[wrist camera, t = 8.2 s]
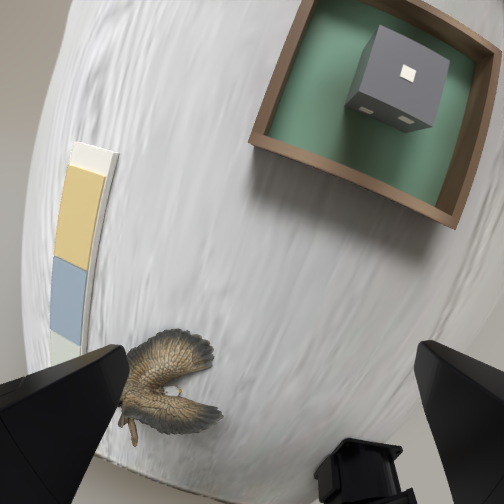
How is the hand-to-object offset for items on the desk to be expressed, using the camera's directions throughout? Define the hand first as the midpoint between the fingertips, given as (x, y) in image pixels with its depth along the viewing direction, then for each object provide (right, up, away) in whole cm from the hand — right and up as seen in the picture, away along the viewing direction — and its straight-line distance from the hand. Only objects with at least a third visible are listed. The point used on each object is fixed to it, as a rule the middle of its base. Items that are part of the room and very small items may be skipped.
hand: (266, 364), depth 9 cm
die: (+7, +13, +7) cm, 16 cm away
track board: (-15, -1, +14) cm, 20 cm away
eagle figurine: (-7, -6, +15) cm, 18 cm away
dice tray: (+7, +13, +8) cm, 17 cm away
